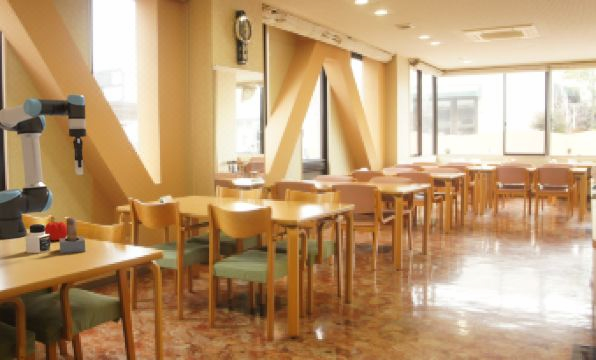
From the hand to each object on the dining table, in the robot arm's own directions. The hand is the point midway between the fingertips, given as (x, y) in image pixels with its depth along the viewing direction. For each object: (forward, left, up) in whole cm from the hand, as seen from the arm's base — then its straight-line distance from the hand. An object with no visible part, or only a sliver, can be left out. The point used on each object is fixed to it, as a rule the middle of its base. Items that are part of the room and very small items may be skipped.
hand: (79, 173), depth 258 cm
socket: (+18, -5, -33) cm, 38 cm away
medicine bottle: (+13, -19, -33) cm, 40 cm away
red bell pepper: (-12, -11, -33) cm, 37 cm away
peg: (+18, -5, -32) cm, 37 cm away
